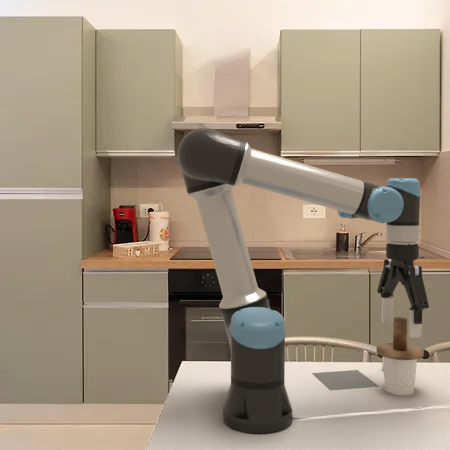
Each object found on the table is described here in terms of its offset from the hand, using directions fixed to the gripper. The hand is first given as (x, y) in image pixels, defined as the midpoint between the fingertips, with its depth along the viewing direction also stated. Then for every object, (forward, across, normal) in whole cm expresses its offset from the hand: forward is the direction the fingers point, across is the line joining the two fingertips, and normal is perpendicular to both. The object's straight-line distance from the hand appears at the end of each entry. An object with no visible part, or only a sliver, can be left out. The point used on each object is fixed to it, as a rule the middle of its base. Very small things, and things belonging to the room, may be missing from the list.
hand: (400, 329), depth 142 cm
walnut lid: (+6, 0, 0) cm, 6 cm away
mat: (+16, +10, +10) cm, 21 cm away
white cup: (+16, 0, 0) cm, 16 cm away
